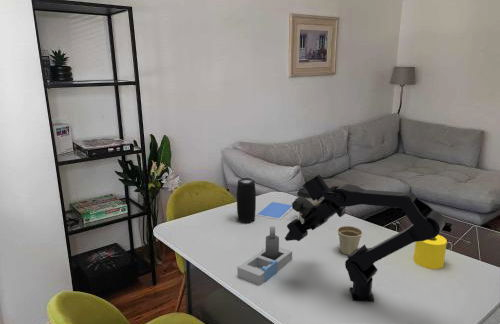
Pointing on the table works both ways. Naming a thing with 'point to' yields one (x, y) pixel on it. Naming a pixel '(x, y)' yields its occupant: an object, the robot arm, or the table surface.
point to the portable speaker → (246, 200)
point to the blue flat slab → (275, 210)
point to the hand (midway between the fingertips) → (292, 234)
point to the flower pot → (349, 238)
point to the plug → (272, 245)
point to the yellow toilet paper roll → (430, 252)
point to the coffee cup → (303, 193)
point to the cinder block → (263, 266)
